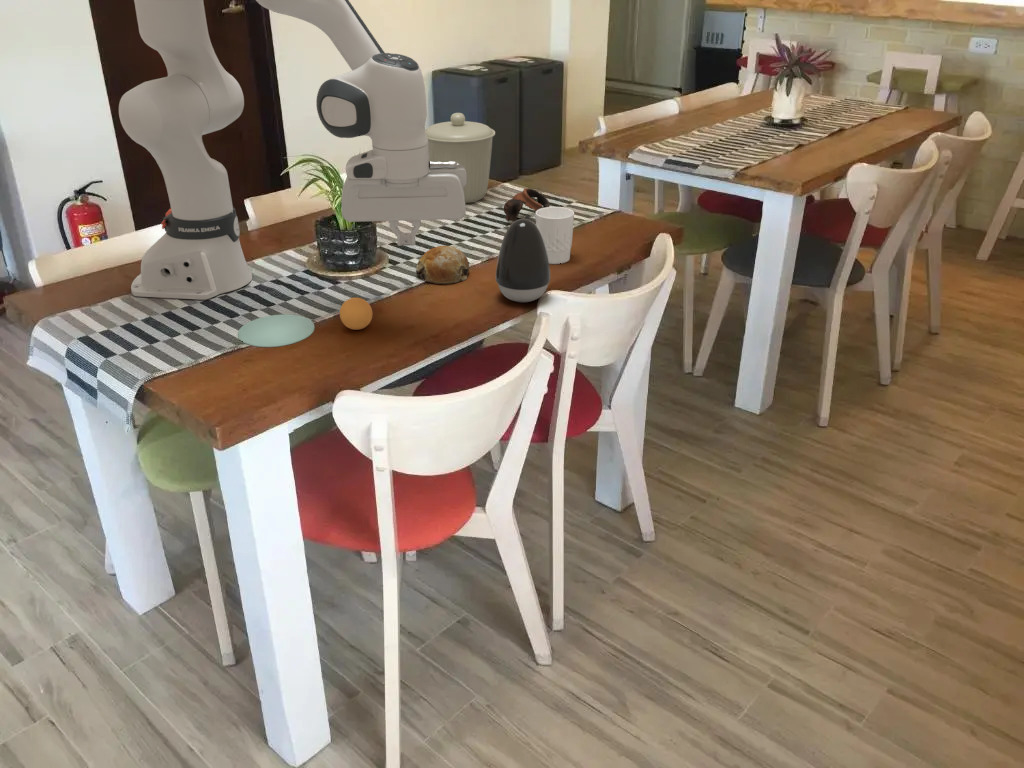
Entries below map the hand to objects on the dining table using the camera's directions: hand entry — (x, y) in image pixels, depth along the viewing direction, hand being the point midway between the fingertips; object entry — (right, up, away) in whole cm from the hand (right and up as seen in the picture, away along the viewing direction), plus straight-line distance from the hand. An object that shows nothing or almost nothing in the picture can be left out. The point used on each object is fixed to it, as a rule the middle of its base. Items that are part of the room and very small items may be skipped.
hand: (406, 244), depth 147 cm
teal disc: (-23, -14, +6) cm, 28 cm away
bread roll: (+4, -2, +29) cm, 29 cm away
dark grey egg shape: (+20, -7, +19) cm, 28 cm away
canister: (+5, +23, +75) cm, 79 cm away
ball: (-9, -11, +5) cm, 16 cm away
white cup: (+26, +3, +37) cm, 45 cm away
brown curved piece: (+20, +15, +60) cm, 65 cm away
